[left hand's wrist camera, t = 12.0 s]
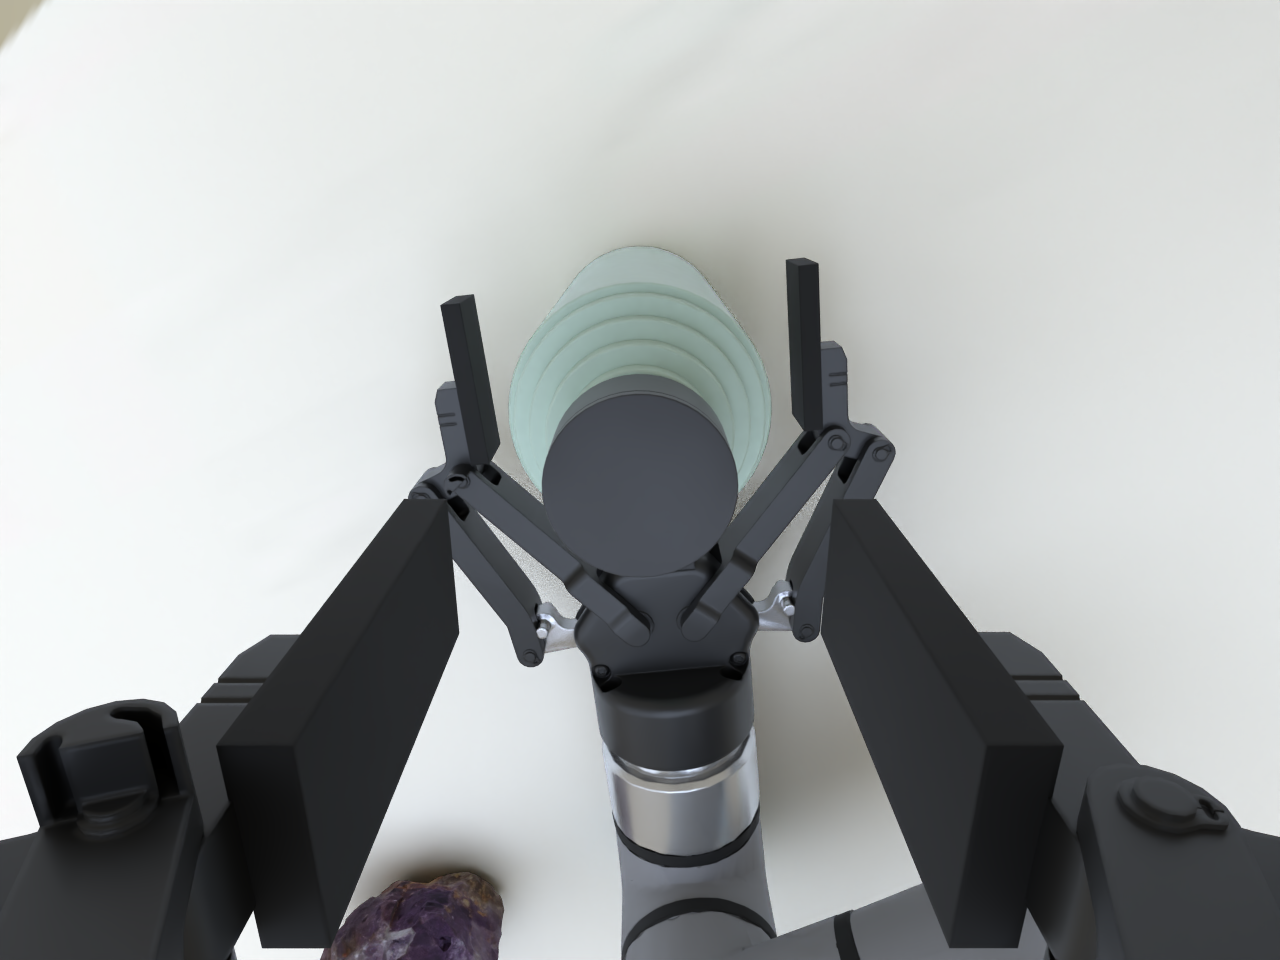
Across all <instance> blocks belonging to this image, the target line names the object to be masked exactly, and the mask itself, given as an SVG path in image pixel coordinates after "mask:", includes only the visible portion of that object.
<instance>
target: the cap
mask: <svg viewBox="0 0 1280 960" xmlns="http://www.w3.org/2000/svg"><path fill="white" fill-rule="evenodd" d="M542 497H543V503H544V507H545V511H546V514H547V517H548V519H549V521H550V523H551V526H552V528H553V529H554V531H555V532H556V534H557V535H558V537H559V538H560V540H561V541H562V542H563V543H564V544H565V546H566V547H567V548H568V549H570V550H571V551H572V552H573V553H574V554H575V555H576V556H578V557H579V558H580V559H582V560H583V561H585V562H586V563H588V564H590V565H592V566H594V567H595V568H598V569H600V570H603V571H605V572H608V573H612V574H615V575H619V576H626V577H643V578H644V577H655V576H660V575H665V574H669V573H672V572H675V571H678V570H680V569H682V568H684V567H686V566H688V565H690V564H692V563H694V562H695V561H697V560H698V559H700V558H701V557H702V556H704V555H705V554H706V553H707V552H708V551H710V550H711V549H712V547H713V546H714V545H715V544H716V543H717V542H718V541H719V540H720V538H721V537H722V535H723V534H724V532H725V531H726V529H727V527H728V525H729V523H730V521H731V519H732V516H733V514H734V511H735V507H736V503H737V498H738V473H737V468H736V464H735V460H734V457H733V454H732V451H731V449H730V446H729V443H728V440H727V437H726V434H725V432H724V429H723V426H722V424H721V422H720V420H719V418H718V417H717V415H716V414H715V412H714V411H713V409H712V408H711V407H710V405H709V404H708V403H707V402H706V401H705V400H704V399H703V398H702V397H701V396H699V395H698V394H697V393H696V392H694V391H693V390H692V389H690V388H688V387H687V386H685V385H683V384H681V383H679V382H677V381H674V380H672V379H669V378H665V377H662V376H657V375H650V374H631V375H623V376H619V377H615V378H611V379H608V380H606V381H603V382H601V383H599V384H597V385H595V386H593V387H591V388H590V389H588V390H587V391H586V392H584V393H583V394H582V395H580V396H579V397H578V398H577V399H576V400H575V401H574V402H573V403H572V404H571V406H570V407H569V408H568V409H567V411H566V412H565V413H564V415H563V417H562V418H561V420H560V422H559V424H558V426H557V429H556V431H555V434H554V437H553V440H552V442H551V445H550V448H549V451H548V454H547V457H546V460H545V464H544V468H543V474H542Z"/></svg>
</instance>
